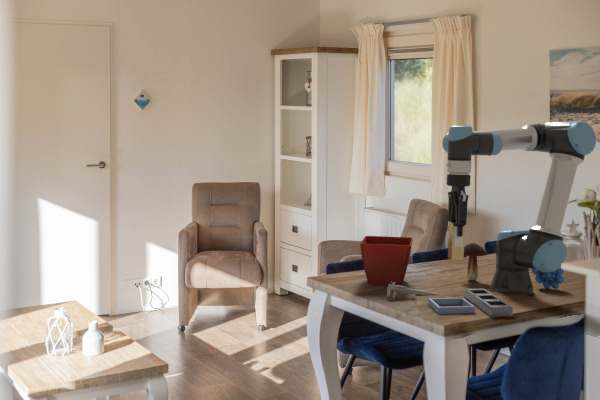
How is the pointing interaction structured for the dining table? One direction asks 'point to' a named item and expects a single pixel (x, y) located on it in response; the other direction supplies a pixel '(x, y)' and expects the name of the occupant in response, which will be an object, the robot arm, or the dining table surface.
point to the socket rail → (488, 302)
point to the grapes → (549, 278)
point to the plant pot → (385, 259)
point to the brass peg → (453, 251)
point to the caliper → (405, 290)
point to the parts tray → (465, 308)
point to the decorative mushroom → (473, 259)
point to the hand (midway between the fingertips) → (456, 244)
